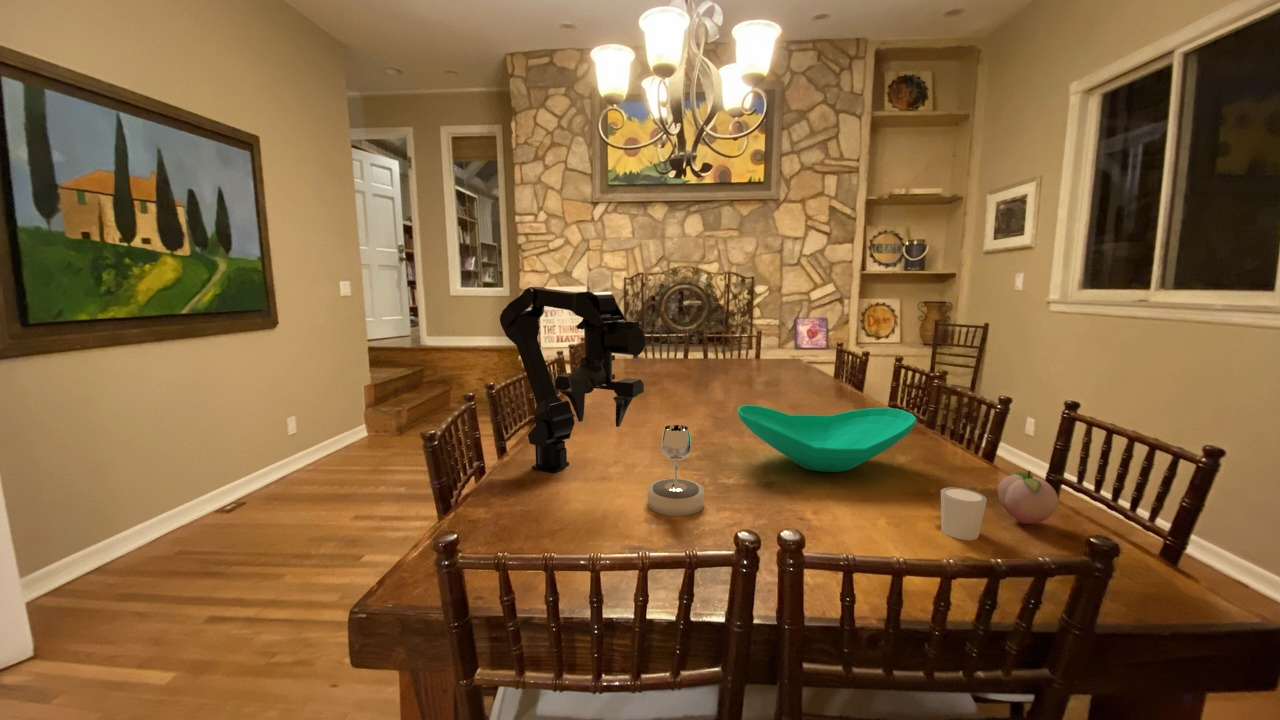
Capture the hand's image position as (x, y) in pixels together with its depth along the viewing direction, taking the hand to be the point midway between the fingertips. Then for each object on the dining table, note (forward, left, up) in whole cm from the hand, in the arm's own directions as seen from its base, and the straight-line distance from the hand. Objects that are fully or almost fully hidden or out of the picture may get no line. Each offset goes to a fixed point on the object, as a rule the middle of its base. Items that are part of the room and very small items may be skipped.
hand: (599, 424), depth 113 cm
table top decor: (+42, +31, -13) cm, 54 cm away
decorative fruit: (+79, +17, -13) cm, 82 cm away
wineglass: (+19, -3, -10) cm, 22 cm away
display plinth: (+19, -3, -13) cm, 23 cm away
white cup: (+68, +8, -13) cm, 70 cm away
